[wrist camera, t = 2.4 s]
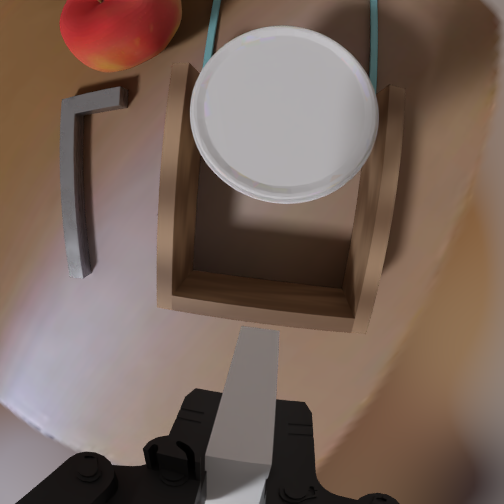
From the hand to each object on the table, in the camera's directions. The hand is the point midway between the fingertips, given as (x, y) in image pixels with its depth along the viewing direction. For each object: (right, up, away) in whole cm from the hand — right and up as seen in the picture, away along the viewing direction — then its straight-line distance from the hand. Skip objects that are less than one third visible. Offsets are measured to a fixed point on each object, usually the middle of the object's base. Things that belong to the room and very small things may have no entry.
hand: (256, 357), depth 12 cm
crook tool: (-15, +11, +15) cm, 24 cm away
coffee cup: (+2, +14, +13) cm, 19 cm away
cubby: (+2, +9, +14) cm, 17 cm away
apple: (-10, +24, +11) cm, 29 cm away
